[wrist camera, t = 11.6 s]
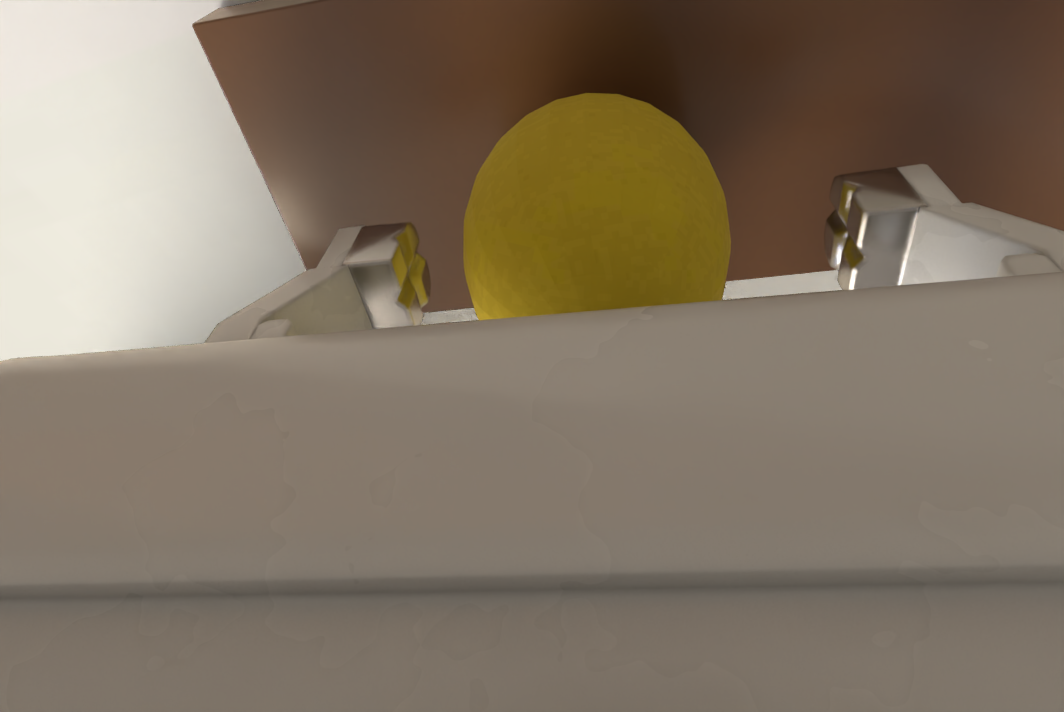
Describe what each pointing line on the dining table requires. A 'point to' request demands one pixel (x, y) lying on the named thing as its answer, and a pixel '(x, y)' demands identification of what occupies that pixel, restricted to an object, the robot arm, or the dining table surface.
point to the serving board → (650, 76)
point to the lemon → (594, 213)
